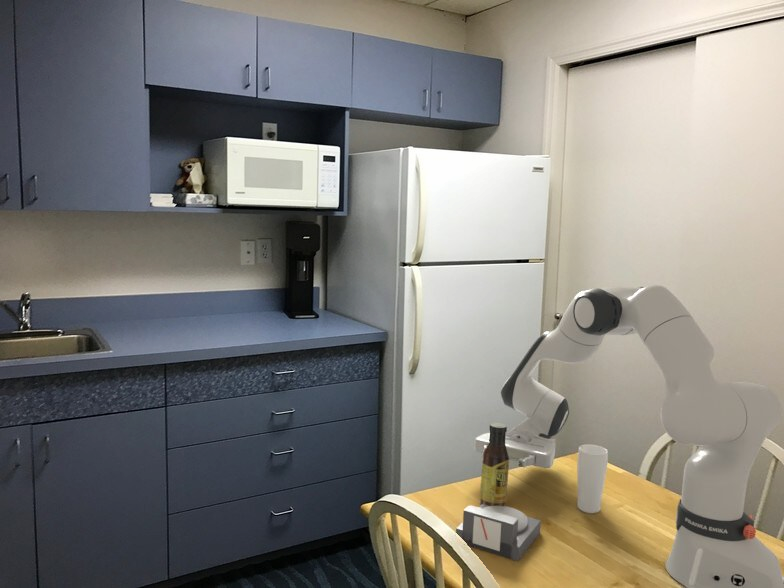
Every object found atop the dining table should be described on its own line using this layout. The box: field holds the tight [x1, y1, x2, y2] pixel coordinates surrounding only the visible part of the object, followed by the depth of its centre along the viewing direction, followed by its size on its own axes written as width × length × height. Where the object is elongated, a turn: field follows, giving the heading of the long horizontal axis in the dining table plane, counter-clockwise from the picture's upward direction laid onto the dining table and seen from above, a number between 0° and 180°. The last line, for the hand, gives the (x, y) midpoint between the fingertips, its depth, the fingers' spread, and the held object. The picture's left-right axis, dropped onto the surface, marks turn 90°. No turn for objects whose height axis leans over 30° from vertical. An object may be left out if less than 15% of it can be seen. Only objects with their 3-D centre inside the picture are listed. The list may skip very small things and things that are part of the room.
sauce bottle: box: [479, 422, 510, 506], centre depth 160 cm, size 6×6×20 cm
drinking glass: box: [576, 444, 609, 514], centre depth 160 cm, size 7×7×15 cm
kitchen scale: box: [455, 503, 542, 562], centre depth 146 cm, size 14×14×8 cm
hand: (503, 459), depth 164 cm, fingers open, 8 cm apart
